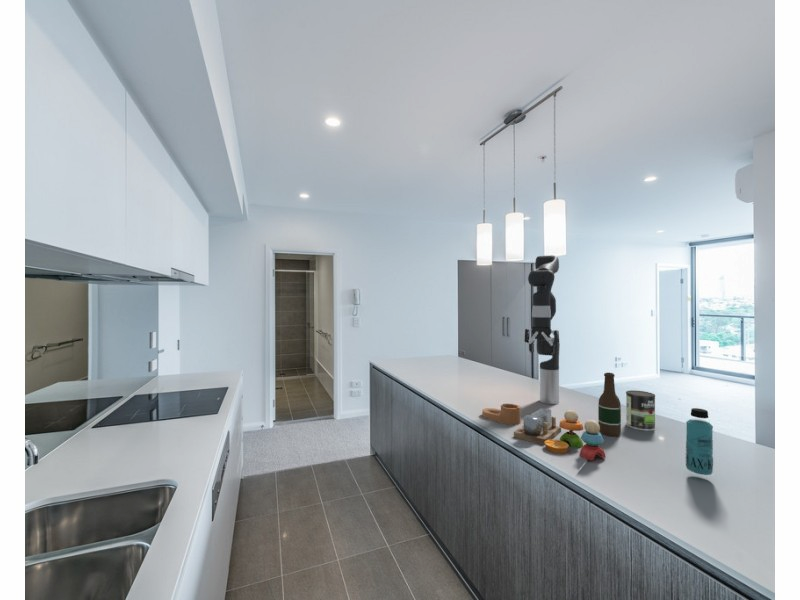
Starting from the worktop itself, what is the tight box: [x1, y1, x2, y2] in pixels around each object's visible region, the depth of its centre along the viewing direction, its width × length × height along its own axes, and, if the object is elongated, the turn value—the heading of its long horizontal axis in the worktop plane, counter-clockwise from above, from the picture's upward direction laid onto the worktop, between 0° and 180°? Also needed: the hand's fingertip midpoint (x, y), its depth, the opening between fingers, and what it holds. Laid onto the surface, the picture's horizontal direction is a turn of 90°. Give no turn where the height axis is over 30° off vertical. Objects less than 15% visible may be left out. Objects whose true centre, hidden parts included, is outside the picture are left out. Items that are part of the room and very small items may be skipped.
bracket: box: [481, 403, 522, 426], centre depth 163 cm, size 18×8×7 cm, turn 42°
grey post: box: [523, 407, 552, 436], centre depth 144 cm, size 18×6×6 cm, turn 139°
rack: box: [513, 416, 562, 446], centre depth 144 cm, size 18×12×6 cm, turn 138°
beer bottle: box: [597, 372, 622, 437], centre depth 145 cm, size 8×8×24 cm
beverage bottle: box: [684, 407, 714, 476], centre depth 110 cm, size 6×7×20 cm
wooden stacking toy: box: [544, 409, 606, 461], centre depth 128 cm, size 18×17×12 cm
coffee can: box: [625, 389, 656, 432], centre depth 153 cm, size 10×10×14 cm
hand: (541, 353), depth 158 cm, fingers open, 8 cm apart
